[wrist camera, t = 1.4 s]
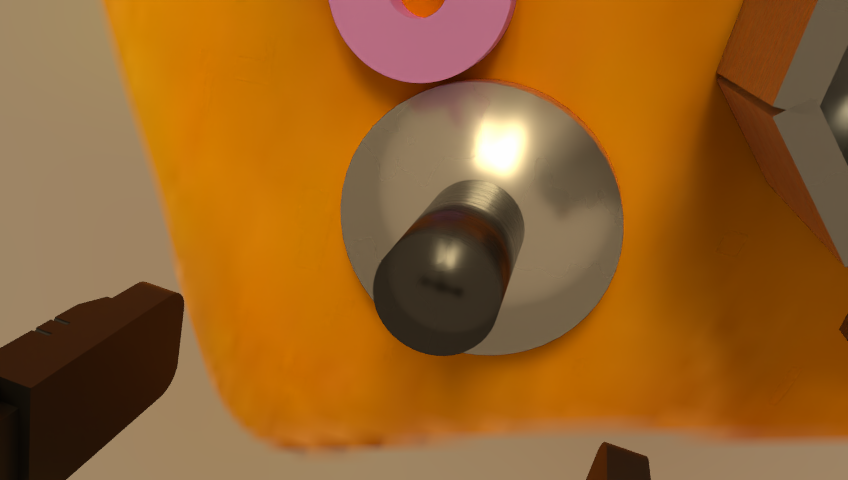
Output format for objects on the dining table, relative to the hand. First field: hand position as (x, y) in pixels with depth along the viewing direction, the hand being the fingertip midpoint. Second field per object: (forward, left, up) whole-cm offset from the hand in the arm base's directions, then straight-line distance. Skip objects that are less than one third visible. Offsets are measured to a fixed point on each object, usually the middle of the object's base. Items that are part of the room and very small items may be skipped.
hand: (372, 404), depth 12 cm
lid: (0, 0, -12) cm, 12 cm away
